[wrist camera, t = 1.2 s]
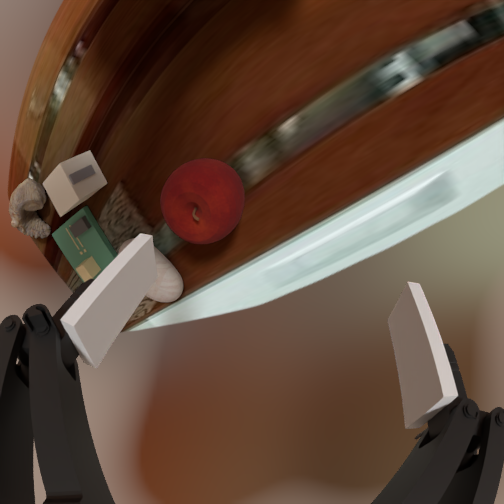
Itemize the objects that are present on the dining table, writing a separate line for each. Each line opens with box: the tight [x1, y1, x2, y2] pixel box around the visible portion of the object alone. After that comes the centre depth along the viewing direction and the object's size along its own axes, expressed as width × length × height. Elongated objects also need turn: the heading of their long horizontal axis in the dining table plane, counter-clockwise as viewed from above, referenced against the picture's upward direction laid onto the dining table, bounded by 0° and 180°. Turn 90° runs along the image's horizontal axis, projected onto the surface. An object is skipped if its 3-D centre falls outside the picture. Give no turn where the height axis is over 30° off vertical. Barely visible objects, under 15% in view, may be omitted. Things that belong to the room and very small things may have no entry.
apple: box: [160, 158, 245, 244], centre depth 31 cm, size 10×10×10 cm
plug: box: [43, 151, 107, 217], centre depth 35 cm, size 6×7×7 cm
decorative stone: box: [118, 238, 183, 302], centre depth 42 cm, size 13×9×5 cm
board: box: [52, 205, 118, 283], centre depth 45 cm, size 16×14×4 cm
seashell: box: [9, 178, 51, 238], centre depth 40 cm, size 14×10×10 cm
